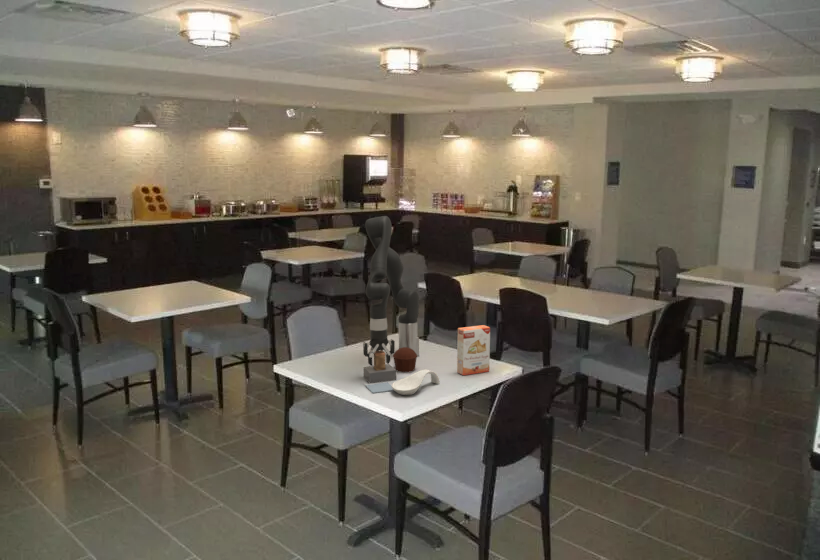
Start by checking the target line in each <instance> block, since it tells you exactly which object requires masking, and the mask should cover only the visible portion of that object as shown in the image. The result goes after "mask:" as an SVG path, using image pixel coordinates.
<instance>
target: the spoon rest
mask: <svg viewBox="0 0 820 560" xmlns="http://www.w3.org/2000/svg"><path fill="white" fill-rule="evenodd" d="M428 374H429V375H430V380H431V381H430V382H431V383H433V384H437V385H440V383H441V382H440V381H441V380H440V378H439V375H438V374H437V373H436V372H435V371H432V370H429V369H421V370H419V371H417V372H415V373H413V374H410V375H408V376H405V377H403V378H401V379H397V380H395V381H394V382H393V383H392V384H391V386H392V388H393V390H394V391H393V392H395V393H396V394H399V395H401V396H412V395H413V394H415V393H416V392H417V391H418V390H419V388H420V387H421V385H422V383H423V381H424V378H425V377H426V376H427V375H428Z"/></svg>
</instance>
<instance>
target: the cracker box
mask: <svg viewBox="0 0 820 560" xmlns="http://www.w3.org/2000/svg"><path fill="white" fill-rule="evenodd" d="M456 346H457V349H456V350H457V356H456V358H457V359H456V360H457V361H456V365H457V366H456V369H457V370H456V371H457V372H456V373H458V374H460V375H462V376H468V375H475V374H483V373H487V372H490V356H491V355H490V354H491V349H490V348H491V327H490V326H487V325H485V324H482V325H472V326H465V327H458V328H457V345H456Z"/></svg>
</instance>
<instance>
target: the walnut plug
mask: <svg viewBox="0 0 820 560" xmlns="http://www.w3.org/2000/svg"><path fill="white" fill-rule="evenodd" d="M385 364H386V352H385V351H384V350H383V351H381V350H379V351H375V353H374V354H373V366H374V369H375V370H376V371H378V370H385Z"/></svg>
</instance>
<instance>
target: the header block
mask: <svg viewBox="0 0 820 560" xmlns="http://www.w3.org/2000/svg"><path fill="white" fill-rule="evenodd" d="M362 369H363V373H362V375H363V378H364V379H365V380H366V381H367V382H368V383H369V384H378V383H386V382H391V381H397V370H396V369H395V367H393V366H392V365H391V364H390V363H389V364H387V363H385V370H378V371H376V370H375V369H374V365H372V366H370V365H369V366H368V365H367V366H363V367H362Z"/></svg>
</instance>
